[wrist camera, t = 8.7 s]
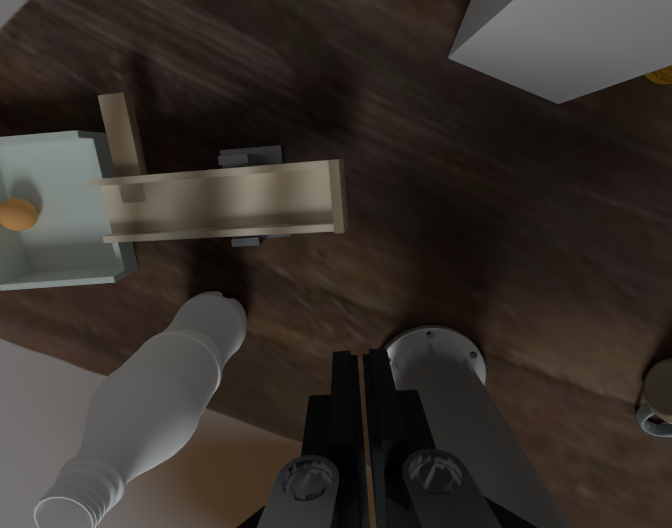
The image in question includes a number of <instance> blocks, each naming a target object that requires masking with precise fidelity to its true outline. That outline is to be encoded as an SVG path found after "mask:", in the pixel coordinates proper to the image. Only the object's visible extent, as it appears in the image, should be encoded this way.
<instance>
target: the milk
mask: <svg viewBox="0 0 672 528" xmlns="http://www.w3.org/2000/svg"><path fill="white" fill-rule="evenodd" d="M448 58H449V59H451V60H454V61H456V62H458V63H461V64H463V65H466V66H468V67H470V68H473V69H475V70H478V71H480V72H482V73H485V74H487V75H490V76H492V77H494V78H497V79H499V80H502V81H504V82H506V83H509V84H511V85H514V86H516V87H518V88H521V89H523V90H526V91H528V92H530V93H533V94H535V95H538V96H540V97H542V98H545V99H547V100H550V101H552V102H554V103H557V104H560V103H563V102H566V101H569V100H572V99H575V98H577V97H580V96H583V95H586V94H589V93H592V92H595V91H598V90H601V89H604V88H607V87H609V86H612V85H615V84H618V83H621V82H624V81H627V80H630V79H633V78H636V77H638V76H641V75H644V74H647V73H650V72H653V71H656V70H659V69H662V68H665V67H668V66H670V65H672V0H471V1H470V4H469V6H468V9H467V11H466V14H465V16H464V19H463V21H462V23H461V26H460V28H459V31H458V33H457V36H456V38H455V41H454V43H453V46H452V48H451V51H450V53H449V55H448Z"/></svg>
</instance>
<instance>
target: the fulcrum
mask: <svg viewBox="0 0 672 528" xmlns="http://www.w3.org/2000/svg"><path fill="white" fill-rule="evenodd" d="M220 155H221V156H218V160H219V165H222V168H223V169H225V168H233V167H234V166H243V167H250V166H263V165H275V164H284V163H283V154H282V145H278V146H266V147H254V148H242V149H230V150H220ZM291 235H292V234H272V235H252V236H233V238H232V239H231V243H232V247H240V246H254V245H260V244H261V243H262V242H263V241H264V240H265V239H266V238H271V237H284V236H291Z"/></svg>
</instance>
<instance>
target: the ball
mask: <svg viewBox="0 0 672 528" xmlns="http://www.w3.org/2000/svg"><path fill="white" fill-rule="evenodd" d="M37 220H38V211H37V209H36V208H35V206H34V205H33V204H32V203H30V202H29V201H27V200H24V199H20V198H12V199H8V200H5V201H3V202H2V203H1V204H0V223H1V224H2V225H3V226H5V227H6V228H8V229H11V230H16V231H22V230H27V229H29V228H31V227H33V226H34V225H35V224H36V222H37Z"/></svg>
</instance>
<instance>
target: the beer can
mask: <svg viewBox="0 0 672 528" xmlns="http://www.w3.org/2000/svg"><path fill="white" fill-rule="evenodd" d="M644 75H645V76H646V77H647V78H648V79H649V80H651V81H652V82H655V83H658V84H672V65H670V66H668V67H665V68H662V69H659V70H656V71H653V72H650V73H647V74H644Z"/></svg>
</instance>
